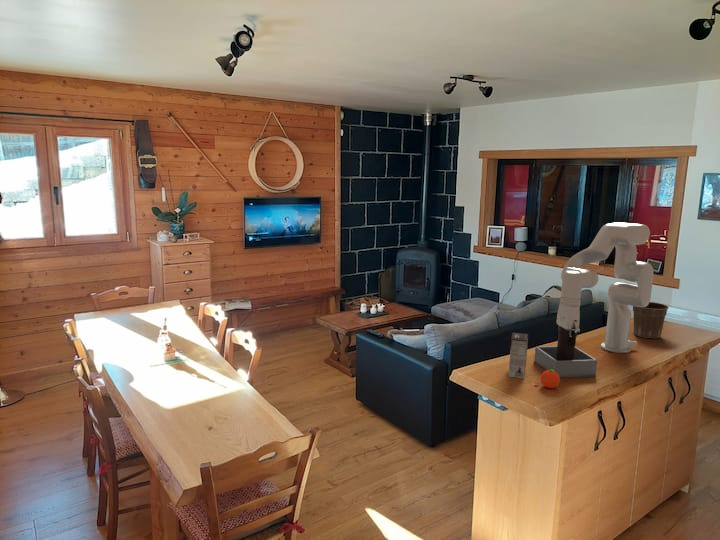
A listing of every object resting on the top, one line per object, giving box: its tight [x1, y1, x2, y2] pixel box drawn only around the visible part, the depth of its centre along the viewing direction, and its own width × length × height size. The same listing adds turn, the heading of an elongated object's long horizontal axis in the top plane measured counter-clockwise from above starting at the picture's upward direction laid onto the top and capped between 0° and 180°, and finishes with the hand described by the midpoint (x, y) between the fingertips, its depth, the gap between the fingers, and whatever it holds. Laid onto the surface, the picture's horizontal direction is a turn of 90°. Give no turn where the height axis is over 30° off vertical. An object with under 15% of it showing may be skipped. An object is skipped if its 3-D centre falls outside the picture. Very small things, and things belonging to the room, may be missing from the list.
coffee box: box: [508, 332, 529, 379], centre depth 207 cm, size 9×6×16 cm
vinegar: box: [556, 326, 576, 361], centre depth 212 cm, size 7×7×20 cm
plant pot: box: [632, 301, 670, 340], centre depth 260 cm, size 16×16×16 cm
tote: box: [533, 345, 598, 379], centre depth 214 cm, size 18×18×7 cm
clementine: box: [540, 369, 561, 389], centre depth 195 cm, size 8×7×7 cm
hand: (566, 342), depth 212 cm, fingers closed on vinegar, 6 cm apart
